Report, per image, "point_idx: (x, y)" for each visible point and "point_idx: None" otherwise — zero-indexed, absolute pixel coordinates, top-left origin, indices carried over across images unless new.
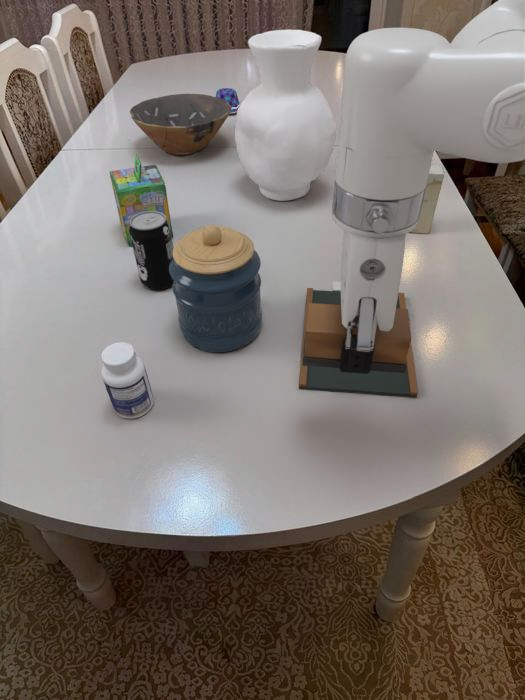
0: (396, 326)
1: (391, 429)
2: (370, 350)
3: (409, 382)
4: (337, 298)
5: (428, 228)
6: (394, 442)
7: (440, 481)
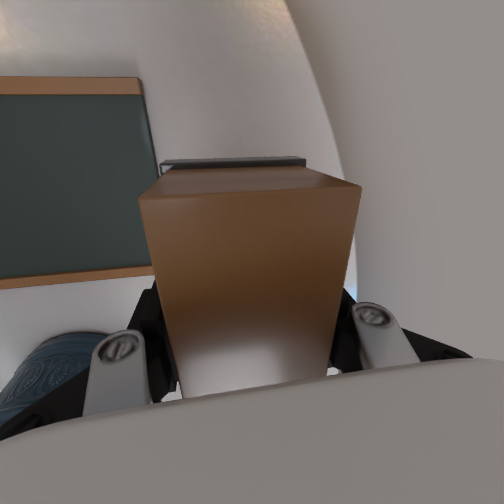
0: (285, 251)
1: (222, 135)
2: (381, 312)
3: (113, 94)
4: None
5: None
6: (245, 131)
7: (307, 59)
